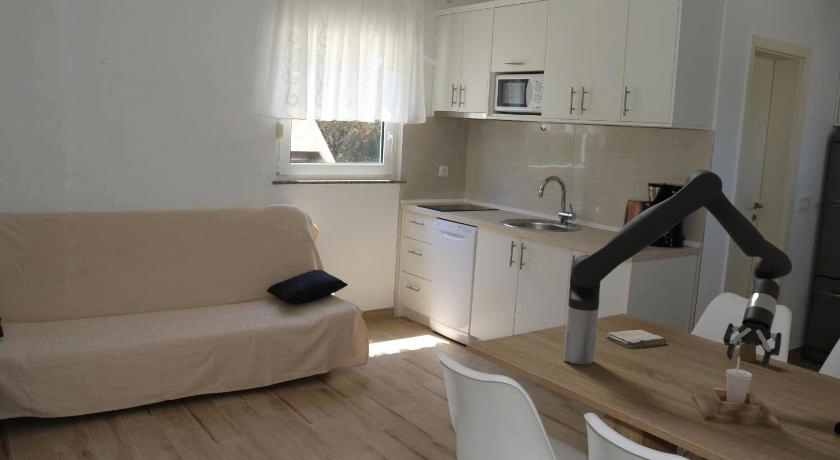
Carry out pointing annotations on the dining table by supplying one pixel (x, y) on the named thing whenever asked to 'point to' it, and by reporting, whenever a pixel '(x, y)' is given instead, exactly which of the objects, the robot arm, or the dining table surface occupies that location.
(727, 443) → the dining table surface
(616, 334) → the washcloth
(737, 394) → the smoothie
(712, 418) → the open wooden box
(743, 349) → the cork
